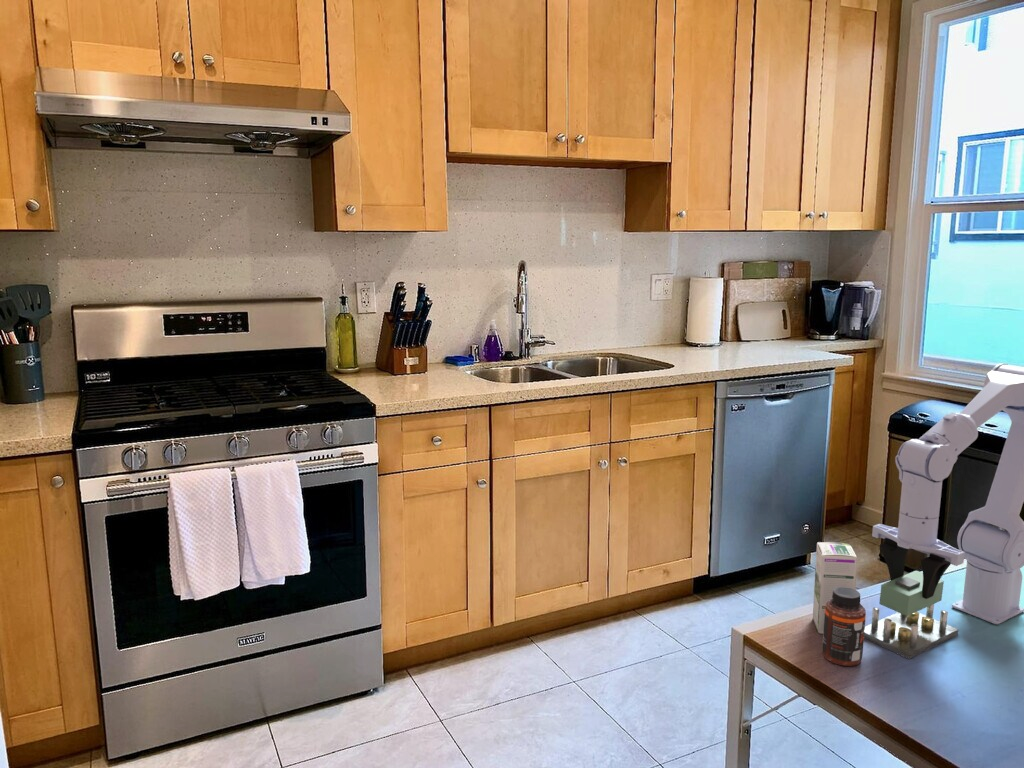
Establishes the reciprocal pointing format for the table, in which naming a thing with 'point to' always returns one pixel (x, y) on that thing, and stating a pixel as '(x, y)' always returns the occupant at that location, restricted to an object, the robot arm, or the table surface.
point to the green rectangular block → (908, 594)
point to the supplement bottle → (844, 627)
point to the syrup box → (831, 575)
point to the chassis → (909, 631)
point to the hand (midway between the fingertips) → (911, 590)
